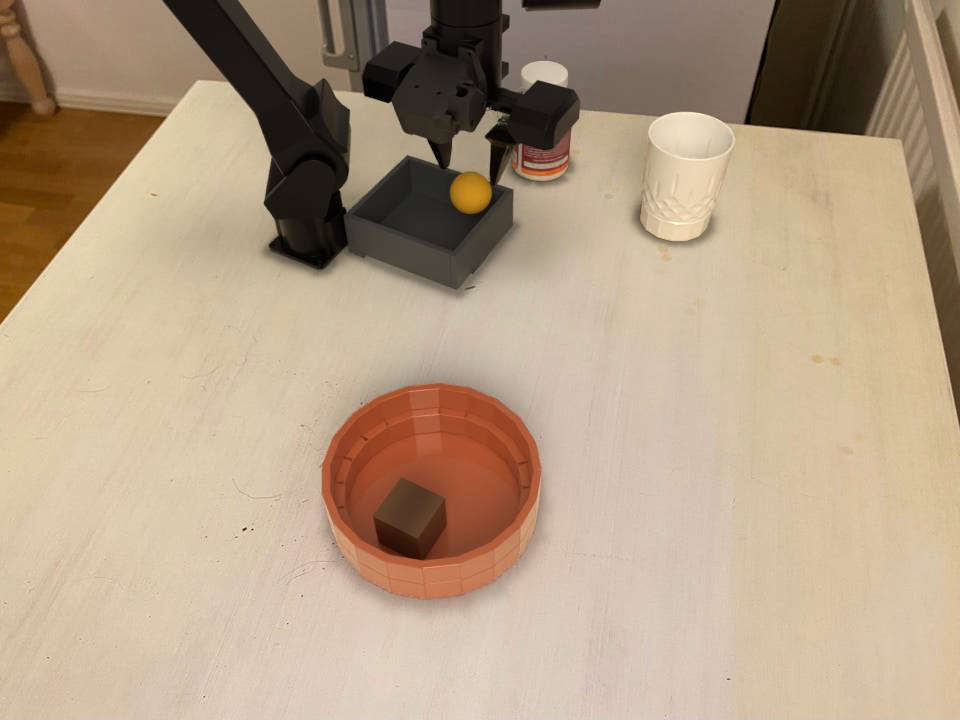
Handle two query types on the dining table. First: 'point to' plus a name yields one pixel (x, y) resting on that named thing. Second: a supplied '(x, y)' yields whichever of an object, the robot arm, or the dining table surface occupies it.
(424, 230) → the bin
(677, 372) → the dining table surface
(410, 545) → the toy block
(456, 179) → the toy ball
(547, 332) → the dining table surface
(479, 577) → the bowl
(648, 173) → the white cup
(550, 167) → the pill bottle
